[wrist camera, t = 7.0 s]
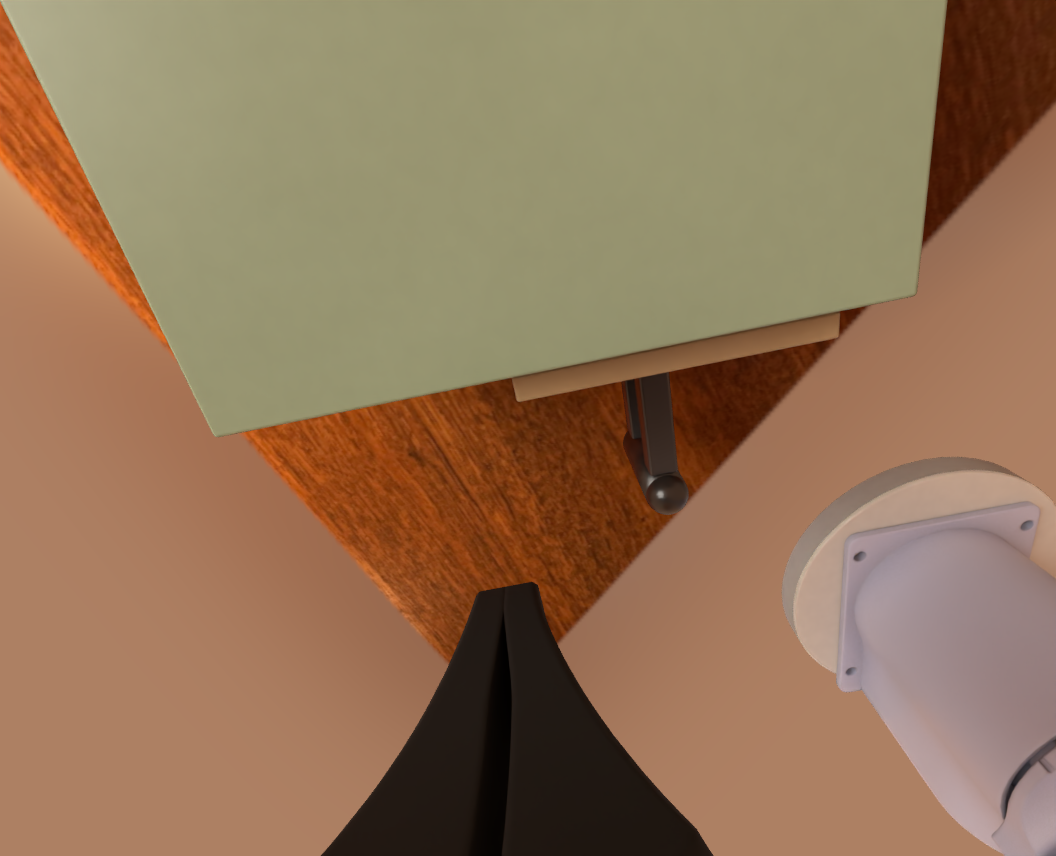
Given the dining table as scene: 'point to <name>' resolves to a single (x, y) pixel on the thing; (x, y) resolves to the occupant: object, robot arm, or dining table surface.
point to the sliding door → (667, 393)
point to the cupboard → (487, 178)
